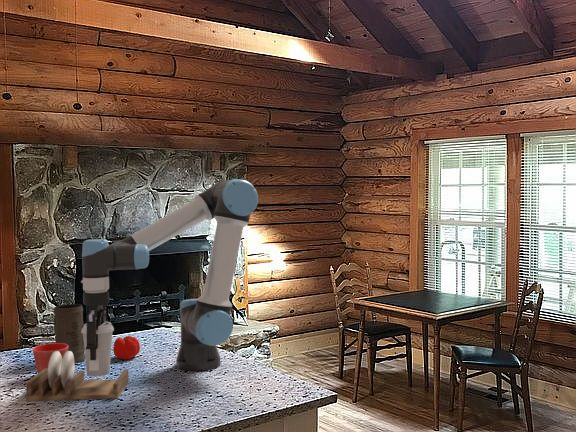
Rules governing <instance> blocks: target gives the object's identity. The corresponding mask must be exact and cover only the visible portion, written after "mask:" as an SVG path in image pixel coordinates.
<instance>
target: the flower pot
mask: <svg viewBox="0 0 576 432" xmlns="http://www.w3.org/2000/svg"><path fill="white" fill-rule="evenodd" d="M68 347H69V346H68V345H67V344H63V343H55V342H53V343H52V342H51V343H43V344H40V345H36V346H34V347H33V348H32V353H33V357H34V362H35V367H36V370H37V374H38V373H39V372H40V371H42V370H43V369H44V368H48V365H49V360H50V357H51V355H52V353H53V352H54V351H59V352H60V354H61V356H62V359H63V356H64V354H65V352H66V351H68Z"/></svg>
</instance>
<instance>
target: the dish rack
mask: <svg viewBox="0 0 576 432" xmlns="http://www.w3.org/2000/svg"><path fill="white" fill-rule="evenodd" d="M75 364H76V363H75V361H74V356H73V353H72V352H71V351H66V352H65V354H64V356H63V359H62V356H61V354H60V352H59V351H54V352H53V353H52V355H51V357H50V360H49V365H48V368H44V369H43V370H42V371H40V372H39V373H38V372H37V374H35V375H34V376H33V377H32V378H31V379H29V380H28V381H27V382H26V384H25V385H26V387H25V388H26V402H27V401H29V402H30V401H33V402H34V401H36V402H37V401H63V400H65V401H66V400H67V401H68V400H69V401H70V400H71V401H72V399H75V400H103V399H104V400H108V399H107V398H110V399H111V398H113V399H119V397H120V396H121V394H123V391H124V390H125V389H126V387H127V386H128V384H129V382H130V381H129V377H130V376H129V369H123V371H122V372H121V373H120V374H119V376H118V377H117V378H115V379H113V378H112V379H111V378H110V379H85V370H79V371H78V372H77V373H75V369H76V367H75Z"/></svg>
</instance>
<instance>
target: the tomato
mask: <svg viewBox="0 0 576 432" xmlns="http://www.w3.org/2000/svg"><path fill="white" fill-rule="evenodd" d="M140 350H141V345H140V341H139V339H138V338H137V337H135V336H132V335H127V336H125V337H117V338H116V339H115V340H114V343H113V348H112V351H113V355H114V356H115V357H116V358H117V359H119V360H130V359H132V358H134V357H136V356H137V355H138V354H139V353H140Z"/></svg>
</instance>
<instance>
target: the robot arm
mask: <svg viewBox="0 0 576 432" xmlns="http://www.w3.org/2000/svg"><path fill="white" fill-rule="evenodd" d="M257 191H258V190H257V189H256V187H254V185H253V184H252V183H251V182H249V181H248V180H244V179H238V178H233V179H224V180H221V181H218V182H217V183H215V184H214V185H212V186H210V187H208V188H207V189H205V190H203V191H201V193H199V194H196V196H195V199H194V200H192V201H190V202H188V203H186V204H185V205H183V206H182V207H179V208H178V209H176V210H174V211H172V212H171V213H169V214H167V215H165V216H163V217H161V218H159V219H158V220H156V221H154V222H152V223H151V224H148V225H147V226H145V227H144V228H143V227H142V229H140V230H137V231H135V232H134V233H132V234H131V235H129V236H127V237H125V238H124V239H122V240H117V241H115V242H112V244H109V241H108V240H107V239H106V238H105V239H104V238H103V239H101V238H97V239H95V238H93V239H86V240H84V241H83V242H82V251H81V259H82V263H81V265H82V279H81V281H80V283H81V284H82V289H83V293H82V303H83V305H84V306H88V307H89V310H88V312H87V314H86V316H85V317H86V318H85V319H86V323H87V346H86V349H89V371H99V348H98V334H96V330H98V326H100V325H101V324H103V323H104V322H107V315H106V314H107V307H106V306H105V305H107V304H109V303H110V292H109V289H110V273H109V272H110V271H120V270H121V271H122V270H141V269H146V268H148V266H149V264H150V251H152V250H153V249H156V248H157V247H158V246H161V245H162V244H164V243H167V242H168V241H170V240H171V239H173V238H175V237H177V236H179V235H181V234H182V233H184V232H185V231H188V230H190V228H193V227H195V226H196V225H198V224H200V223H201V222H203V221H206V220H208V221H211V220H213V219H215V220H216V228H215V233H214V239H213V243H212V247H211V248H212V249H211V253H210V257H209V262H208V268H207V272H206V278H205V283H204V287H203V292H202V294H201V296H198V298H190V299H184V300H182V301H181V302H180V304H179V305H180V306H179V307H180V308H179V312H180V346H179V350H178V352H177V357H176V358H175V359H176V360H175V365H176V366H175V367H176V369H177V368H178V369H179V370H183V371H190V372H196V371H197V372H198V371H200V372H201V371H206V370H207V371H208V370H212V369H216V368H218V367H219V366H220V365H221V356H220V353H219V351H218V347H217V346H219V345H221V344H223V343H225V342H226V341H227V340H228V339H229V338H230V337H231V335H232V333H233V328H234V323H233V320H232V317H231V313H232V309H233V304H232V302H231V301H230V295H231V289H232V285H233V281H234V280H233V279H234V275H235V270H236V265H237V259H238V254H239V250H240V245H241V240H242V234H243V231H244V228H245V227H246V226H247V225H248V224H249V223H250V219H251V214H252V213H253V212H255V210H256V208H257V207H258V203H259V194H258V192H257ZM97 332H98V331H97Z"/></svg>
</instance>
